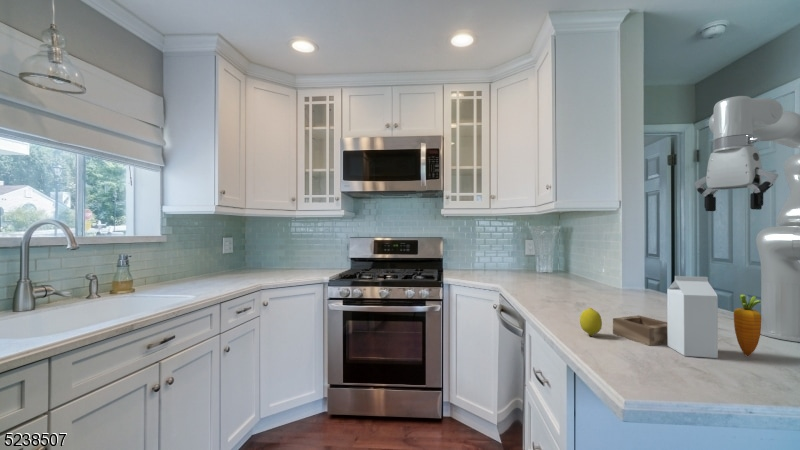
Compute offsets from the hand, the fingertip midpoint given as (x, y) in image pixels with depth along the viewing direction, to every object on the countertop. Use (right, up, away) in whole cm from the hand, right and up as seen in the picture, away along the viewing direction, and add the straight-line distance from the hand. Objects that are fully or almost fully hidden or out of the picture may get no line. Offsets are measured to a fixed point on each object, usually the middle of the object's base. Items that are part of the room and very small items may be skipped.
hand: (732, 210), depth 90 cm
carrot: (-3, -36, -7) cm, 37 cm away
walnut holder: (-18, -36, +7) cm, 41 cm away
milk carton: (-15, -36, -5) cm, 39 cm away
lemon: (-33, -36, +8) cm, 49 cm away
